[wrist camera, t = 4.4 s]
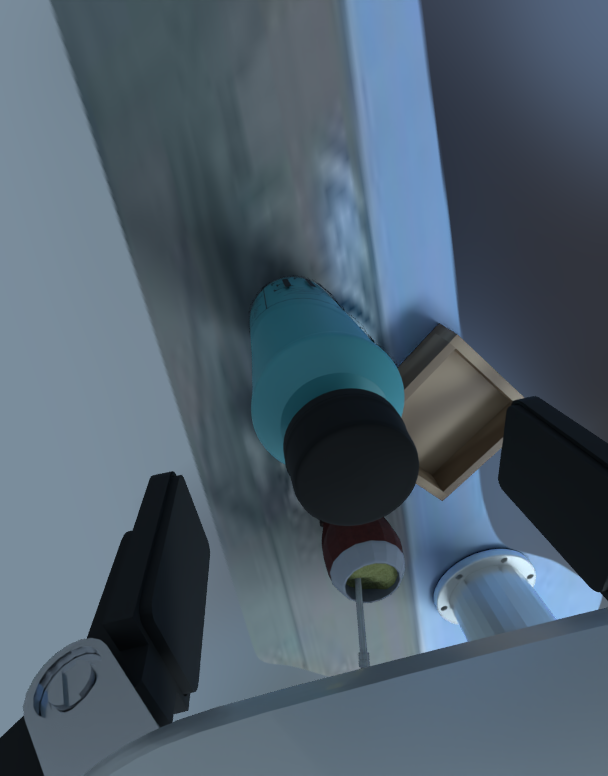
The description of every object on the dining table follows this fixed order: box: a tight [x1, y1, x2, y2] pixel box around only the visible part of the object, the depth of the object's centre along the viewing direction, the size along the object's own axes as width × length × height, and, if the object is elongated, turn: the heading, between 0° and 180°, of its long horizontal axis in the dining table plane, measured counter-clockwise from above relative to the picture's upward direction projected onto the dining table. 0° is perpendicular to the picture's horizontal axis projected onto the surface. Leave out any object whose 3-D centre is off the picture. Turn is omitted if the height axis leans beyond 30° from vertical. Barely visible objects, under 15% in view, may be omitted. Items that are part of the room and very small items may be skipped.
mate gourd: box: [320, 517, 405, 669], centre depth 32 cm, size 8×8×15 cm
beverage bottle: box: [249, 275, 419, 526], centre depth 20 cm, size 6×7×20 cm
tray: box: [397, 324, 524, 501], centre depth 33 cm, size 12×12×3 cm
